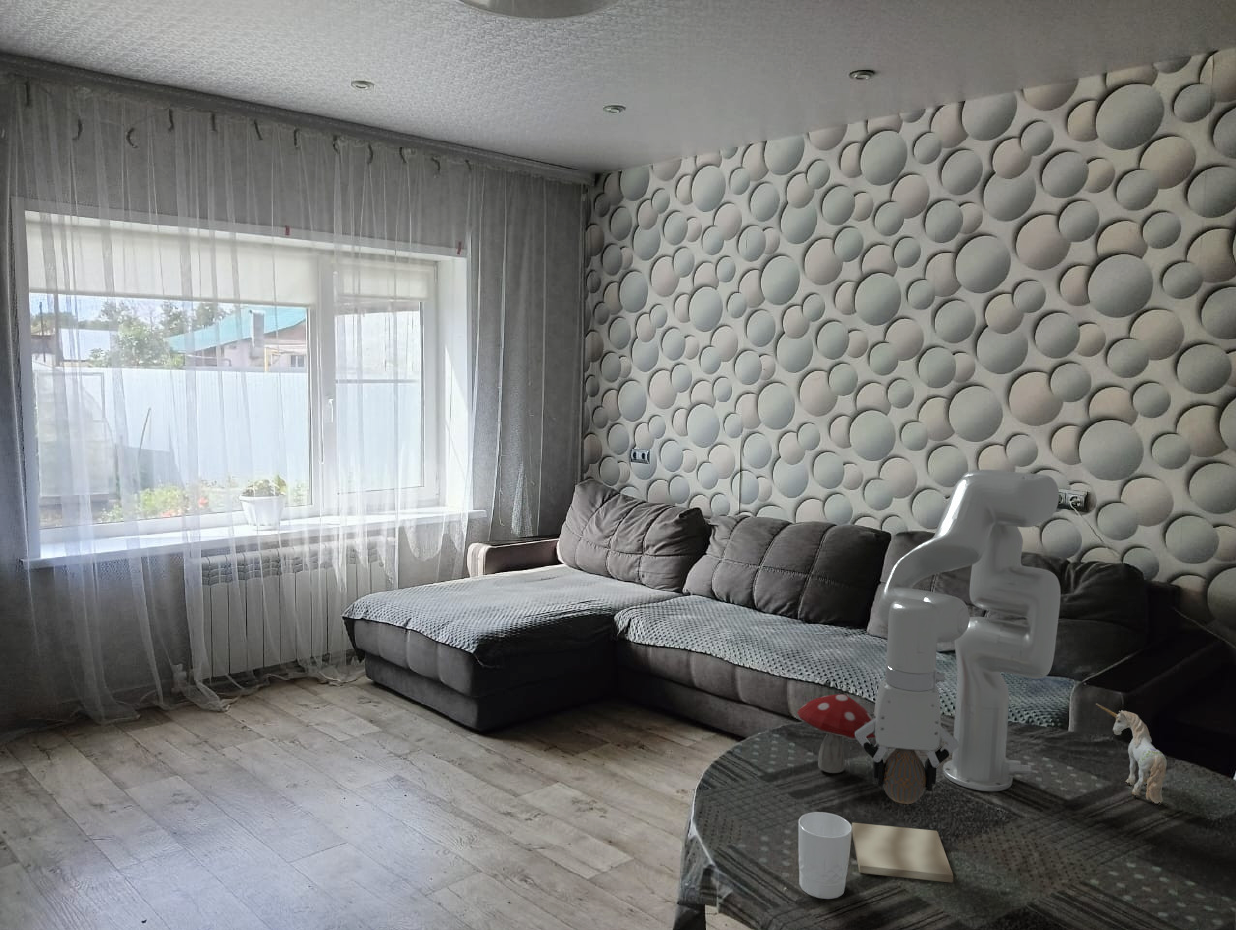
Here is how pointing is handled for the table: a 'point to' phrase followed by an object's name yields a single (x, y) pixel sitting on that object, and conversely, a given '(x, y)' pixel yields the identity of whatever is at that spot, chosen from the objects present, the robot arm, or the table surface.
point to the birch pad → (900, 852)
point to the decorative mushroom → (834, 726)
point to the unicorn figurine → (1141, 755)
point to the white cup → (823, 854)
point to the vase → (904, 776)
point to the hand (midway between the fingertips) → (903, 784)
